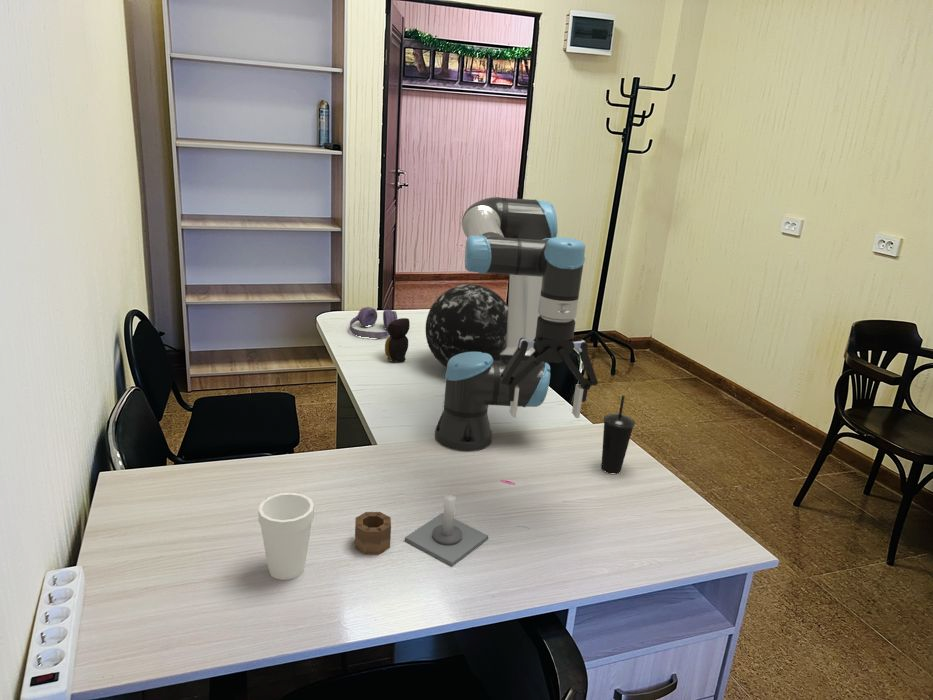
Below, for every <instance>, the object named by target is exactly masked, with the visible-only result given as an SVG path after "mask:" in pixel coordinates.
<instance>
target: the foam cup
mask: <svg viewBox="0 0 933 700" xmlns="http://www.w3.org/2000/svg"><path fill="white" fill-rule="evenodd" d="M257 513H258V518H257V519H258V523H259V525H260V530H261V535H262V540H263V546H264V551H265V558H266V563H267V568H268V572H269V574H270V576H271V577H272V578H274V579H276V580H281V581H287V580H294V579H295V578H298V577H300V576H301V575H302V574H303V573H304V572H305V567H306V562H307V556H308V555H307V554H308V549H309V542H310V535H311V529H312V523H313V520H314V517H315V504H314V502H313V500H312V499H311V497H308V496H306V495H304V494H302V493H296V492H295V493H294V492H285V493H284V492H283V493H277V494H274V495H271V496H269V497H266V499H264V500H263V501H261V502H260V504H259V506H258V511H257Z"/></svg>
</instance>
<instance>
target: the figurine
mask: <svg viewBox="0 0 933 700" xmlns="http://www.w3.org/2000/svg"><path fill="white" fill-rule="evenodd" d="M409 330H410V319H409V318H406V317H403V318H402V317H401V318H397V320H394V321H392V322H391V323H389V325H388V327H387V330H386V331H388V333H389V336H388V337H387V338H386V340H385V344H384V353H385V355H386V357H387V360H388V359H389V360H388V361H390V362H395V363H396V362H397V363H401V362H405V361H406V354H407V352H408V349H409V338H408V337H407V334H408V332H409Z"/></svg>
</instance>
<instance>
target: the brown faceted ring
mask: <svg viewBox="0 0 933 700" xmlns="http://www.w3.org/2000/svg"><path fill="white" fill-rule="evenodd" d="M354 520H355V523H354V524H355V525H354V526H355V528H354V530H355V531H354V549H355V550H357V551H358V552H361V553H362V554H364V555H381V554H382V553H384V552H385V551H387V550H389V549H390V548H391V535H392V521H391V520H392V519H391V516H389V515H387V514H386V513H383V512H381V511H365V512H364V513H361V514H360V515H358V516H356V517H355V519H354Z"/></svg>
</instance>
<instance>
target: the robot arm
mask: <svg viewBox="0 0 933 700" xmlns="http://www.w3.org/2000/svg"><path fill="white" fill-rule="evenodd" d="M461 219H462V220H461V227H462V232H463V233H464V236H465V237H466V240H465V246H464V247H465V250H464V268H465V270H466V271H468V272H469V273H470V272H473V273H477V274H480V275H481V274H493V275H494V274H495V275H509V283H508V284H509V285H508V286H509V287H508V303H507V306H508V320H507V339H506V348H505V349H504V350H503V351H502V352H501V353H500V360H499V361H493V358H492V356H491V355H490V354H487V353H482V352H465V353H460V354H457V355H455V356H453V357H452V358H451V359H450V360H449V361H448V364H447V367H446V371H445V372H446V373H445V374H444V375H445V376H444V377H445V387H444V396H443V397H444V399H443V410H442V412H441V415H440V418H439V420H438V422H437V424H436V427H435V429H434V430H435V431H434V438H435V441H436V442H437V444H439V445H441V446H443V447H445V448H447V449H451V450H454V451H460V452H474V451H475V452H476V451H480V450H483V449H486V448H487V447H489V446H490V444H491V443H492V439H493V438H492V436H493V431H492V428H491V424H490V420H489V416H488V411H489V410H488V408H489V406H500V407H501V406H502V407H503V406H506V407H509V413H510V416H511V418H513V419H514V418H517V414H518V413H517V412H518V407H521V408H529V407H530V408H531V407H532V408H534V407H539V406H541V405H542V404H543V403H544V402H545V399H546V397H547V395H548V391H549V386H550V380H551V366H550V363H555V364H560V363H561V362H563V361H564V363H565V364H566V366H567V368H569V370H570V371H571V372H572V374H573V375H574V377H575V378H576V379H577V381H578V382H579V383H577V384H575V387H574V388H575V390H574V396H573V403H572V410H571V414H572V415H573V416H574V418H576V419H580V415H581V409H582V402H583V403H585V402H586V401H587V398H588V397H587V396H588V390H590V389H591V387H592V386H593V387H595V386H597V385H598V383H599V382H598V378H597V377H596V376H597V375H596V373H595V371H594V367H593V365H592V364H593V363H592V362H591V359H590V356H589V353H588V352H589V351H588V349H589V348H588V347H589V344H588V343H587V341H585V340H584V339H582V338H581V339H579V340H578V341H574V335H575V329H576V320H575V318H576V317H577V313H578V306H579V305H578V304H579V298H580V290H581V282H582V275H583V268H584V264H585V261H586V258H585V254H586V253H585V251H586V245H585V243H584V241H582V240H581V239H580V240H579V239H576V238H572V237H564V236H563V237H562V236H561V237H558V218H557V212H556V209H555V207H554V205H553V204H552V203H551V202H549V201H545V200H538V199H535V198H534V199H526V198H512V197H511V198H509V197H500V196H499V197H498V196H497V197H495V196H493V197H487V198H483V199H481V200H478V201H476V202H474V203H473V204H472V205H470V206H469V207H468V208H467V209H466V210H465V212H464V214H463V215H462V218H461ZM574 349H575V350H576V352H577V353H578V355H579V357H580V360H581V363H582V365H583V369H584V371H585V374H586V377H587V378H585V377H584V376H583V374H582V373H581V371H580V370H579V369H578V367H577V365H576V364H575V363H574V361H573V360H572V358H571V357H570V356H569V355H570V354H571V352H572V351H573V350H574Z"/></svg>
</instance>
